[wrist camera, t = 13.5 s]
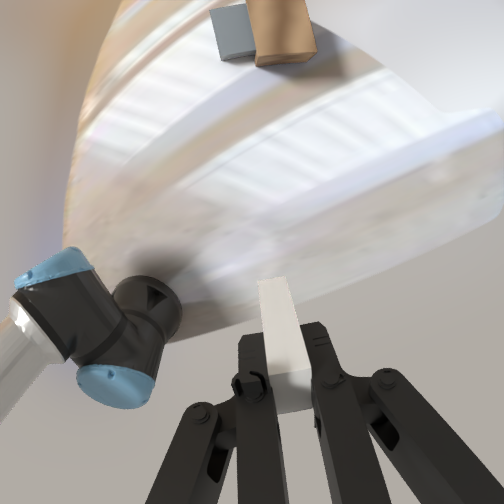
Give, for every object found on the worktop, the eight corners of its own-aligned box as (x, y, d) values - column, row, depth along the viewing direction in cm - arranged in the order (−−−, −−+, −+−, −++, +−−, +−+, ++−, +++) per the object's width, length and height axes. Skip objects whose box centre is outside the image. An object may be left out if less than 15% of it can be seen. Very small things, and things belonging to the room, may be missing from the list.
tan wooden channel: (255, 66, 37) (258, 56, 31) (239, -9, 30) (240, -27, 24) (306, 62, 37) (317, 51, 30) (288, -12, 30) (295, -30, 24)
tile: (221, 61, 37) (220, 56, 34) (211, 16, 33) (209, 10, 30) (295, 49, 36) (299, 44, 33) (283, 6, 32) (286, -1, 30)
